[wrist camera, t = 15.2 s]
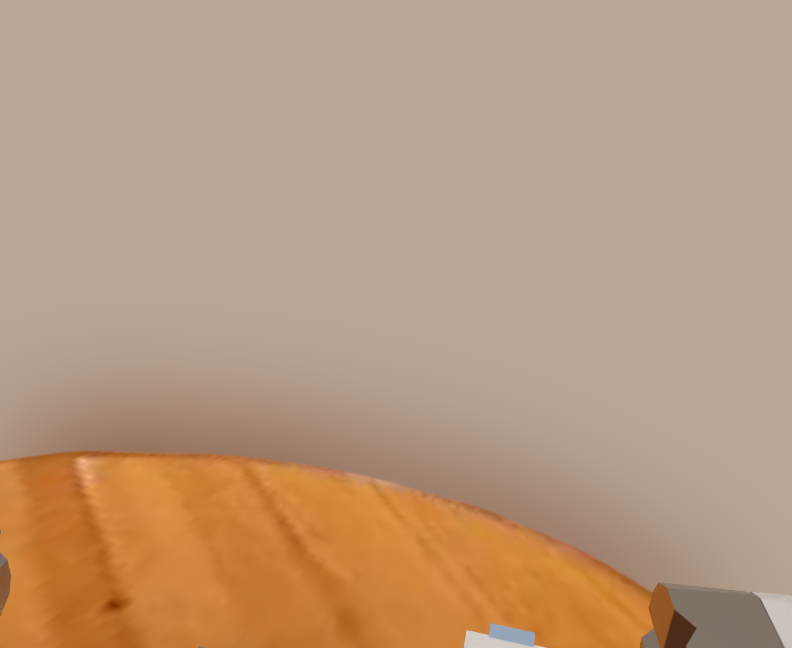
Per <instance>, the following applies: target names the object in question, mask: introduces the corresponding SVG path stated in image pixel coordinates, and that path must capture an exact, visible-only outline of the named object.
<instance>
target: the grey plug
mask: <svg viewBox="0 0 792 648" xmlns="http://www.w3.org/2000/svg"><path fill="white" fill-rule="evenodd" d="M534 639H535V633H533V632H529V631H524V630H519V629H515V628H510V627H506V626H501V625H496V624H492V623H491V625H490V632H489V635H485V634H481V633H476V632H472V631H467V633H466V638H465V644H464V648H544V647H540V646H535V645H534Z"/></svg>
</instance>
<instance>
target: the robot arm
mask: <svg viewBox="0 0 792 648" xmlns="http://www.w3.org/2000/svg"><path fill="white" fill-rule="evenodd" d="M0 533H1V531H0ZM10 581H11V574H10V569H9V565H8V560H7V559H6V558H5V557H4V556H3V555H2V554H1V553H0V615H1V613H2V610H3V608H4V606H5V603H6V601H7V599H8V596H9V593H10ZM649 611H650V615H651V618H652V622H653V625H654V629H652V630H651V631H650V632H648V633H647V634H646V635H644V636H643V637H642V638H641V643H640V648H792V596H791V595H780V594H771V593H770V594H769V593H760V592H750V593H747V592H743V591H734V590H723V589H715V588H706V587H696V586H687V585H677V584H668V583H658V584H657V586H656V588H655V589H654V591H653V594H652V598H651V602H650V605H649Z"/></svg>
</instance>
